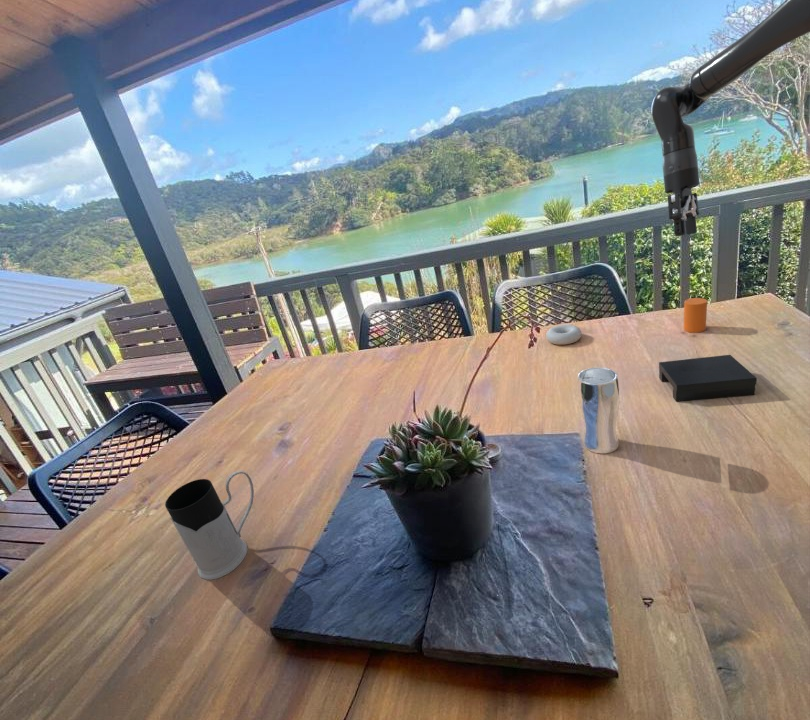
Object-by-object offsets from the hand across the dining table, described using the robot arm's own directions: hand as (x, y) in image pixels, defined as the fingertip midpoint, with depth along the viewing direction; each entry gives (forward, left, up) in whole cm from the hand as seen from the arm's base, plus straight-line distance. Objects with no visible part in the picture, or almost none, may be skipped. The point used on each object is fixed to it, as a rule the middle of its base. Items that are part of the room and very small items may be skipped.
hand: (686, 234), depth 114 cm
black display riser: (+9, +37, -24) cm, 45 cm away
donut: (+33, +3, -24) cm, 41 cm away
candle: (0, +7, -24) cm, 25 cm away
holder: (+100, +79, -24) cm, 129 cm away
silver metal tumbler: (+33, +55, -24) cm, 68 cm away
